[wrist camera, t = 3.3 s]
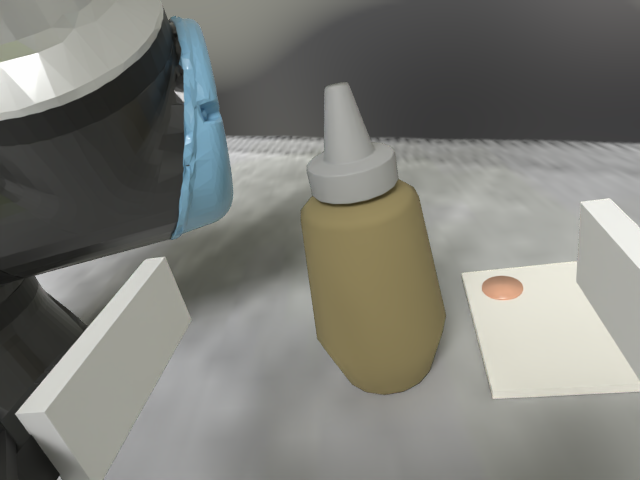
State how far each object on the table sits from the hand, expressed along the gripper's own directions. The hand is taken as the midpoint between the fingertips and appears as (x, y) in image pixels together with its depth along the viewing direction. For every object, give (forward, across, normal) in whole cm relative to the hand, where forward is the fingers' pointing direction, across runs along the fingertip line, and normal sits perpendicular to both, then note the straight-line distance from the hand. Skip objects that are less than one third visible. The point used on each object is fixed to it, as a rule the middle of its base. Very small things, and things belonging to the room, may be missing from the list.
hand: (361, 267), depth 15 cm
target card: (+13, +11, -14) cm, 22 cm away
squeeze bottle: (+11, -1, -14) cm, 18 cm away
